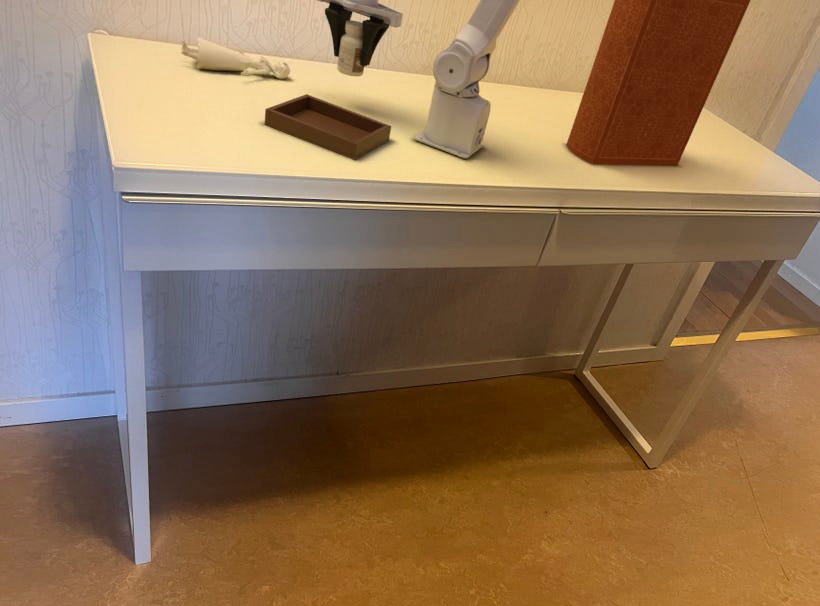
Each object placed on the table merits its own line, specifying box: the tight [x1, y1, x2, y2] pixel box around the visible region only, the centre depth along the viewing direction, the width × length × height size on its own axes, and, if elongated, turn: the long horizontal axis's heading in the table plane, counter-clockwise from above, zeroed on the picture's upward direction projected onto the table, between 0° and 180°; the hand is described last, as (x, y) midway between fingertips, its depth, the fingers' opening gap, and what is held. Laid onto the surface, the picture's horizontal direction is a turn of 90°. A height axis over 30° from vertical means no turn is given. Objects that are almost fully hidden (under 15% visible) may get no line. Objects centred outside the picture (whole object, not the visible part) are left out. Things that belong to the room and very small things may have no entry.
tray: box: [264, 93, 392, 160], centre depth 108 cm, size 16×12×2 cm
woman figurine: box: [181, 36, 291, 80], centre depth 120 cm, size 12×4×18 cm
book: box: [565, 0, 751, 167], centre depth 123 cm, size 23×8×30 cm, turn 117°
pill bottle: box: [336, 19, 365, 78], centre depth 114 cm, size 4×4×8 cm
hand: (351, 60), depth 115 cm, fingers closed on pill bottle, 4 cm apart
